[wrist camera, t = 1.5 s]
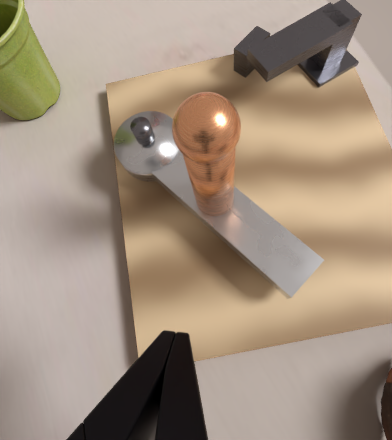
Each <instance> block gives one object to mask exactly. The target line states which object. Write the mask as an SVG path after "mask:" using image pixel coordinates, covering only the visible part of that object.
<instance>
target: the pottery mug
mask: <svg viewBox="0 0 392 440" xmlns="http://www.w3.org/2000/svg"><path fill="white" fill-rule="evenodd" d="M381 405H382V409H381V417H382V425H383V428H384V432H385V436H386V438H387V440H392V368H391V370H390V371H389V374H388V377H387V380H386V383H385V386H384V390H383V396H382V399H381Z"/></svg>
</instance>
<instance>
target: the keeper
mask: <svg viewBox="0 0 392 440" xmlns="http://www.w3.org/2000/svg"><path fill="white" fill-rule="evenodd" d="M361 15H362V14H361V13H359V12H358V11H357V10H356V9H355V8H354V7H353V6H352V5H350V4H349V3H348V2H347V1H346V0H340V1H339V2H337V3H335V4H331V3H328V4H327V5H325V6H323V7H321V8H320V9H318V10H316V11H314V12H313V13H311V14H309V15H307V16H305V17H304V18H302V19H300V20H298V21H297V22H295V23H293V24H291V25H290V26H288V27H286V28H284V29H282V30H281V31H279V32H277V33H275V34H274V35H272V36H270V33H269V32H267V31H265V30H263V29H262V28H260V27H258V26H256V27H255V28H254V29H253V30H252V31H251V32H250V33H249V34H248V35H247V36H246V37H245V38H244V39H243V40H242V41H241V42H240V43H239V44H238V45H237V46H236V47H235V48H234V71H235V72H237V73H238V74H240V75H242V76H243V77H245V78H246V77H247V76H248V75H249V74H250V73H251V72H252V71H253V70H254V69H256V71H257V72H258V73H259V74H260V75H261V76H262V78H263V79H264V80H265V81H266V82H268V81H270V80H271V79H273V78H275V77H277V76H278V75H280V74H282V73H284V72H285V71H287V70H289V69H291V68H292V67H294V66H296V65H298V66H299V67H300V68H301V69H302V70H303V71H304V72H305V74H306V75H307V76H308V77H309V78H310V79H311V80H312V81H313V82H314V83H315V84H316V85H317V86H318V87H321V86H323V85H324V84H326V83H328V82H330V81H331V80H333V79H335V78H336V77H338V76H340V75H342V74H343V73H345V72H347V71H348V70H350V69H352V68H353V67H355V66H357V64H358V61H357V60H356V59H355V58H354V57H353V56H352V55H351V54H350V53H349V52H348V51H347V50H346V49H347V46H348V44H349V42H350V40H351V37H352V35H353V33H354V31H355V28H356V26H357V23H358V22H359V19H360V17H361Z"/></svg>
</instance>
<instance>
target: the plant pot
mask: <svg viewBox="0 0 392 440" xmlns="http://www.w3.org/2000/svg"><path fill="white" fill-rule="evenodd" d="M59 94H60V84H59V81H58V79H57V77H56V75H55V73H54V71H53V69H52V67H51V65H50V63H49V61H48V59H47V57H46V55H45V53H44V51H43V49H42V47H41V45H40V43H39V41H38V39H37V37H36V35H35V33H34V31H33V29H32V27H31V25H30V23H29V18H28V14H27V12H26V10H25V8H24V0H0V110H2V111H3V112H4V113H6V114H7V115H9V116H11V117H13V118H15V119H18V120H30V119H34V118H37V117H39V116H42V115H43V114H45V112H46V110H47V109H48V108H49V107H50V106H51V105H53V104H55V103H56V101H57V99H58V97H59Z"/></svg>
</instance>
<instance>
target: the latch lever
mask: <svg viewBox="0 0 392 440" xmlns="http://www.w3.org/2000/svg"><path fill="white" fill-rule="evenodd" d="M137 117H145V118H147V119H148V120H149V122H150V124H151V127H152V129H153V132H154V134H155V139H154V141H153V142H152V143H151V144H149V145H146V146H144V145H140V144H139V143H138V142H137V140H136V138H135V136H134V134H133V132H132V131H131V128H130V125H131V122H132V121H133V120H134V119H135V118H137ZM240 133H241V121H240V117H239V114H238V112H237V110H236V108H235V107H234V105H233V104H232V103H231V102H230V101H229V100H228V99H227V98H225V97H224V96H222V95H220V94H217V93H213V92H200V93H196V94H194V95H192V96H190V97H188V98H187V99H186V100H184V101H183V102H182V103H181V104H180V106H179V107H178V109H177V111H176V112H175V115H174V118H173V119H172V118H171V117H170V116H168V115H166V114H164V113H161V112H157V111H145V112H141V113H138V114H135V115H133V116H131V117H130V118H128V119H127V120H126V121H124V122H123V123H122V125H121V126H120V127H119V129H118V130H117V132H116V135H115V138H114V151H115V154H116V156H117V158H118V159H119V161H120V162H121V164H122V165H123V167H124V168H125V169H126V171H127V172H128V173H129V174H130V175H131V176H132V177H134V178H136V179H138V180H141V181H147V182H152V181H157V182H158V183H159V184H160V185H161V186H162V187H163V188H164V189H165V190H167V191H168V192H169V193H170V194H171V195H172V196H173V197H174V198H176V199H177V200H178V201H179V202H180V203H181V204H182V205H183V206H184V207H186V208H187V209H188V210H189V211H190V212H191V213H192V214H193V215H194V216H196V217H197V218H198V219H199V220H200V221H201V222H202V223H203V224H204V225H206V226H207V227H208V228H209V229H210V230H211V231H212V232H213V233H214V234H216V235H217V236H218V237H219V238H220V239H221V240H222V241H223V242H225V243H226V244H227V245H228V246H229V247H230V248H231V249H232V250H233V251H235V252H236V253H237V254H238V255H239V256H240V257H241V258H242V259H243V260H245V261H246V262H247V263H248V264H249V265H250V266H251V267H252V268H253V269H255V270H256V271H257V272H258V273H259V274H260V275H261V276H262V277H263V278H265V279H266V280H267V281H268V282H269V283H270V284H271V285H272V286H273V287H275V288H276V289H277V290H278V291H279V292H280V293H281V294H282V295H284V296H285V297H286V298H287V299H288V298H292V297H293V295H294V294H295V293H296V292H297V291H298V290H299V289H300V287H301V286H302V285H303V284H304V283H305V282H306V281H307V279H308V278H309V277H310V276H311V275H312V274H313V273H314V271H315V270H316V269H317V268H318V267H319V266H320V264H321V263H322V262H323V261H324V259H323V258H321V257H320V256H319V255H318V254H317V253H315V252H314V251H313V250H312V249H310V248H309V247H308V246H307V245H306V244H304V243H303V242H302V241H301V240H299V239H298V238H297V237H296V236H295V235H293V234H292V233H291V232H290V231H288V230H287V229H286V228H285V227H284V226H282V225H281V224H280V223H279V222H277V221H276V220H275V219H274V218H273V217H271V216H270V215H269V214H268V213H266V212H265V211H264V210H263V209H262V208H260V207H259V206H258V205H257V204H255V203H254V202H253V201H252V200H251V199H249V198H248V197H247V196H246V195H244V194H243V193H242V192H241V191H240V190H238V189H237V188H236V187H235V186H234V173H235V149H236V145H237V143H238V141H239V138H240Z"/></svg>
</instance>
